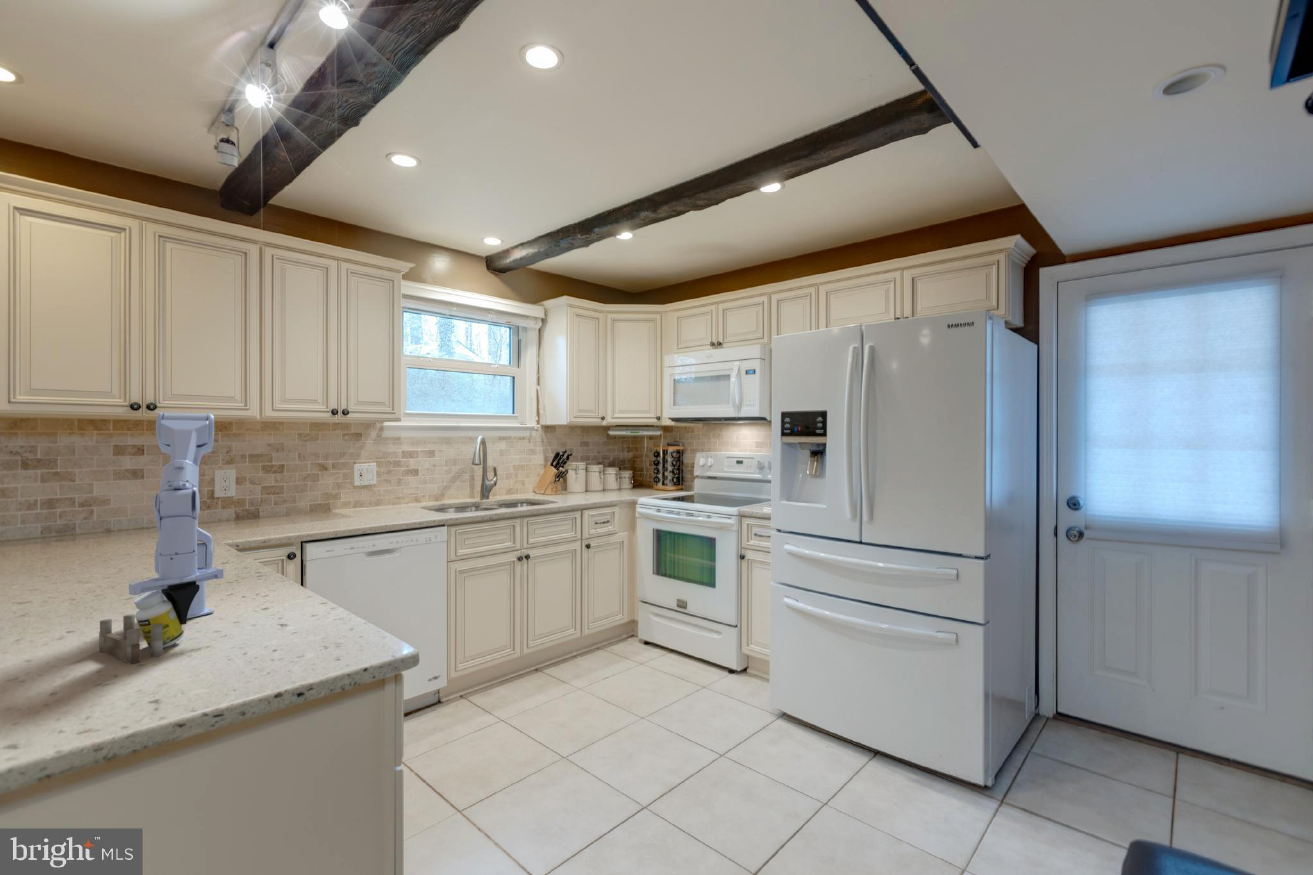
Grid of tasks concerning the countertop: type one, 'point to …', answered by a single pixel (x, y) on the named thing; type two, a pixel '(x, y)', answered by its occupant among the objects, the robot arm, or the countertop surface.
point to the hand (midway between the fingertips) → (179, 624)
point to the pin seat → (128, 640)
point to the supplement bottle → (158, 617)
